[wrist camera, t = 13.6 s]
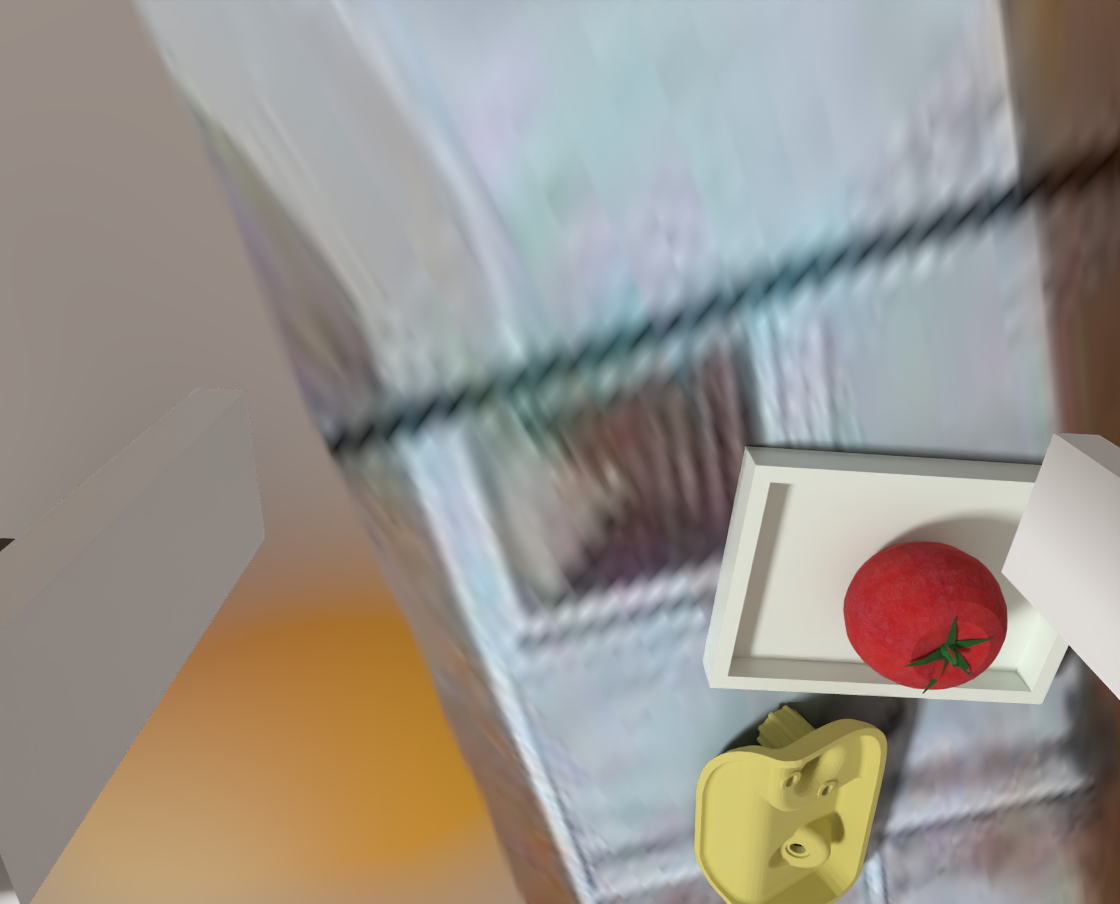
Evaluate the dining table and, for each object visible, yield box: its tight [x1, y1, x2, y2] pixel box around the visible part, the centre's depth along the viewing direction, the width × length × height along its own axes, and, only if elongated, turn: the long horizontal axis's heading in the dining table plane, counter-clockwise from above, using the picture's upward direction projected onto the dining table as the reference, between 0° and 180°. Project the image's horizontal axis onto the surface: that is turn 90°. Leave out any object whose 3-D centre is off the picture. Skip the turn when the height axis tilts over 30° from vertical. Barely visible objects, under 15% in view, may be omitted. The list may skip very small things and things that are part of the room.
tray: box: [703, 446, 1069, 704], centre depth 47 cm, size 16×22×2 cm
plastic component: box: [694, 705, 887, 904], centre depth 54 cm, size 20×7×10 cm
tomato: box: [843, 541, 1008, 694], centre depth 44 cm, size 9×9×8 cm
